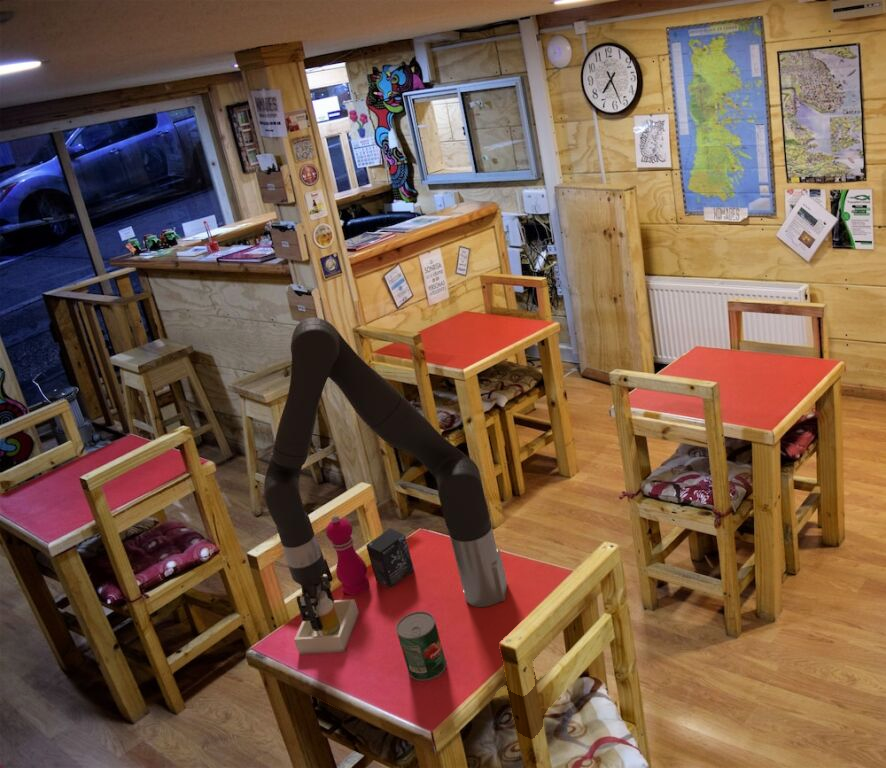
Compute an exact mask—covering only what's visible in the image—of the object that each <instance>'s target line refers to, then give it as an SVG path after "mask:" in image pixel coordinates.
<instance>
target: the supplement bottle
mask: <svg viewBox="0 0 886 768" xmlns="http://www.w3.org/2000/svg"><path fill="white" fill-rule="evenodd" d="M315 601H316V599H311V603H312V602H315ZM312 607H313V610H314V606H312ZM318 610H319V616H320V619H321V622H322V625H323V629H322V630H321V631H316V633H317V635H318V636H329V635H336V634H338V632H339V630H340V623H339V620H338V617H337V614H336V611H335V608H334V605H333V602H332V600H331V599H329V598H328V597H327V594H326V592H325V591H322V592H321V594H320V605H319V606H318Z"/></svg>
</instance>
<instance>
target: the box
mask: <svg viewBox="0 0 886 768" xmlns="http://www.w3.org/2000/svg"><path fill="white" fill-rule="evenodd" d="M406 538H407V537H406V535H405V534H404V533H402V532H399V531H397V530H396V529H393V528H388V529H387V530H385V531H384V532H383V533H381V534H380V535H378V536H377V537H376V538H374V539H372V540H371V541H370V542H368V543H367V544H366V545H365V546H366V549H367V553H368V557H369V560H370V564H371V568H372V572H373V576H374V579H375V581H376V582H377V583H379V584H381V585H383V586H386V587H388V588H389V589H392V588H393V587H394V586H395V585H397V584H398V583H400V582H401V581H402V580H403V579H405V578H406V577H407V576H409V575H410V574H412V573H413V572H414V571H415V568H414V565H413V561H412V558H411V557H412V556H411V553H410V549H409V545H408V542H407V539H406Z"/></svg>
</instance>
